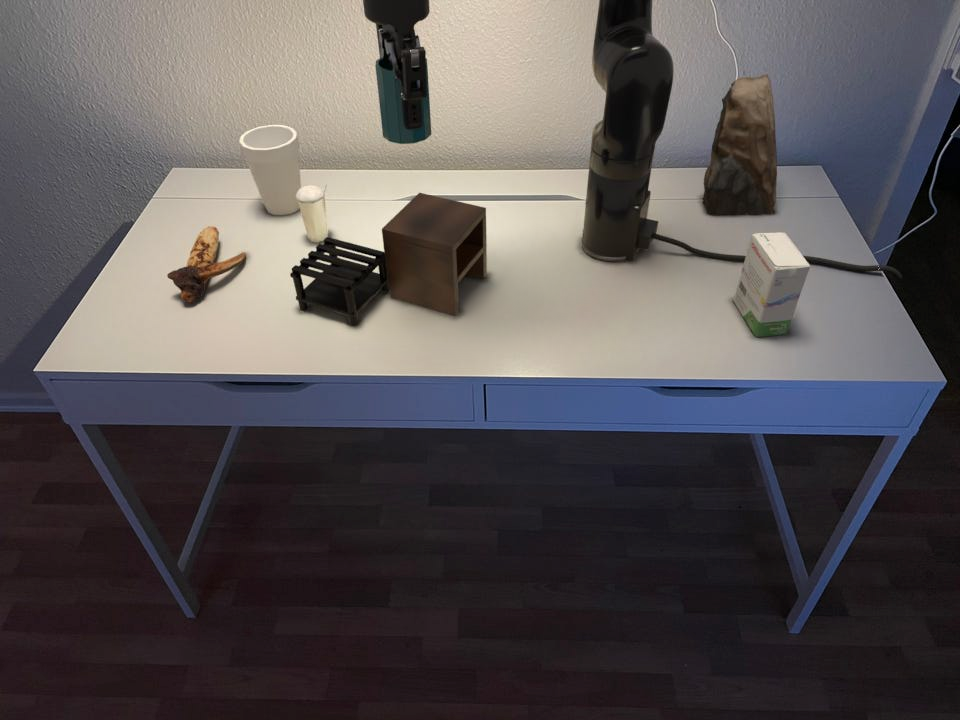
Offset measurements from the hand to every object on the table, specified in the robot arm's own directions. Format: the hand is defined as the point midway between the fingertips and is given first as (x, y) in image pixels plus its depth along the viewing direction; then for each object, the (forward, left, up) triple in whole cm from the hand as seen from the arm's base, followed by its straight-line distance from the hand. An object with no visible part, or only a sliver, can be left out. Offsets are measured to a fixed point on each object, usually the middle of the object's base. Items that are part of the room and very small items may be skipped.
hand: (405, 116), depth 91 cm
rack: (+9, +7, -27) cm, 30 cm away
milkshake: (+22, -6, -27) cm, 36 cm away
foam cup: (+34, -12, -27) cm, 45 cm away
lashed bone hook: (+32, +9, -27) cm, 43 cm away
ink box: (-48, -14, -27) cm, 57 cm away
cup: (0, 0, -2) cm, 2 cm away
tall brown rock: (-39, -45, -27) cm, 65 cm away
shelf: (-2, -2, -27) cm, 27 cm away
